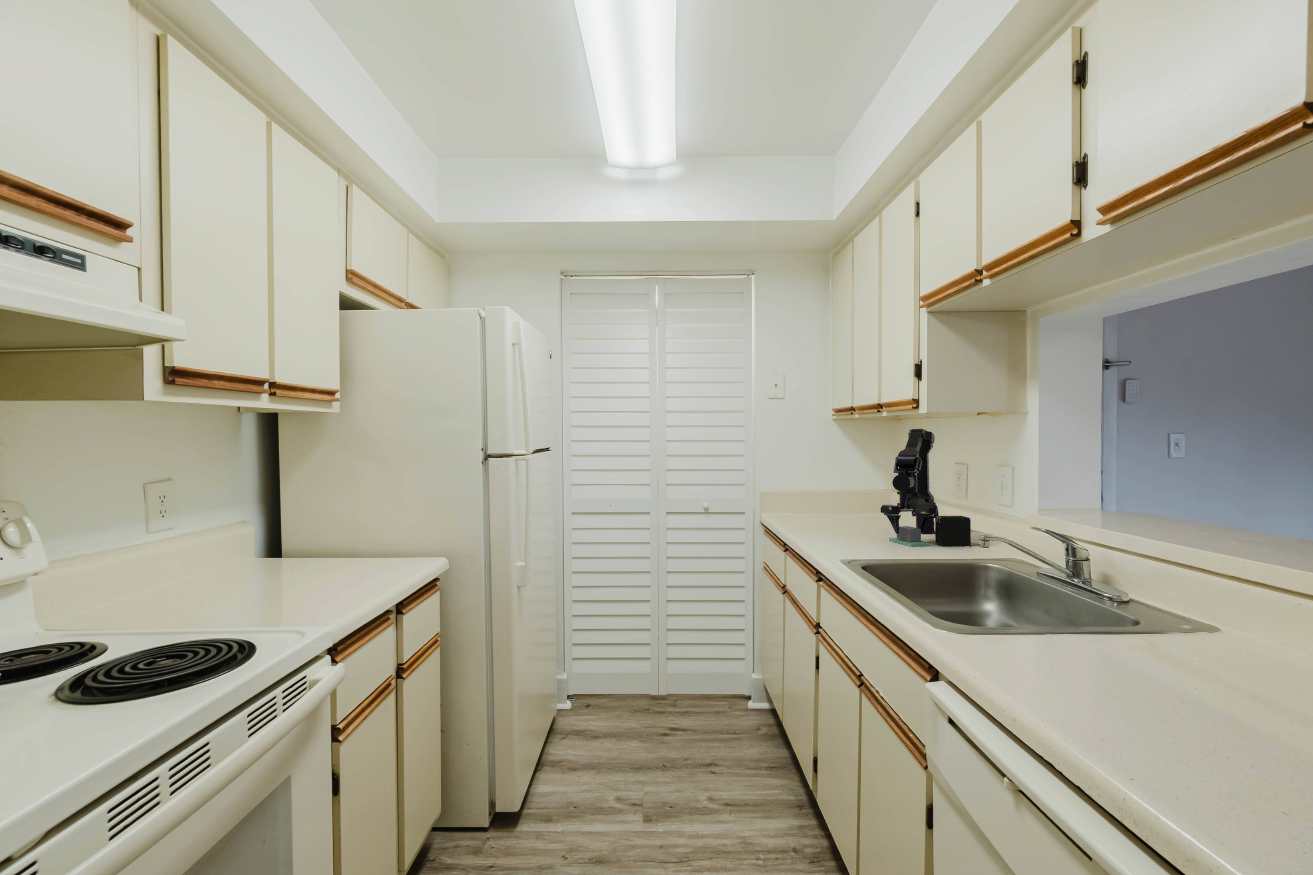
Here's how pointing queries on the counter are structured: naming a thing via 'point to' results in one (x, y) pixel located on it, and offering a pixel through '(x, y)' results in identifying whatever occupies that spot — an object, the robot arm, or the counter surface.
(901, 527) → the block
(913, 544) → the header board
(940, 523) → the electronic device
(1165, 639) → the counter surface
